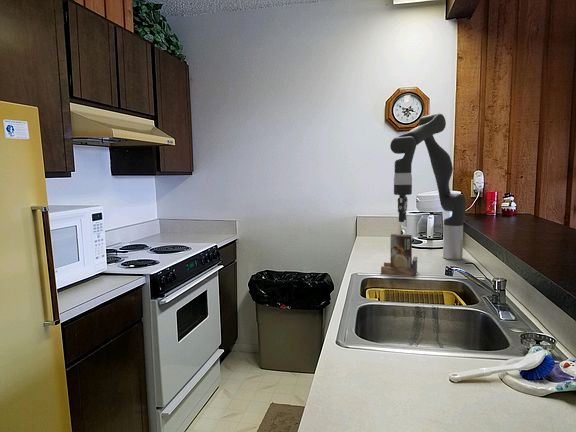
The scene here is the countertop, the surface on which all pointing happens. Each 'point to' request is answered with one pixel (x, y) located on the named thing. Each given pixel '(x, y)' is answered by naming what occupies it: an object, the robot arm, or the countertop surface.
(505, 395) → the countertop surface
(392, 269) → the endcap cradle
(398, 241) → the coffee box
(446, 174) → the robot arm
